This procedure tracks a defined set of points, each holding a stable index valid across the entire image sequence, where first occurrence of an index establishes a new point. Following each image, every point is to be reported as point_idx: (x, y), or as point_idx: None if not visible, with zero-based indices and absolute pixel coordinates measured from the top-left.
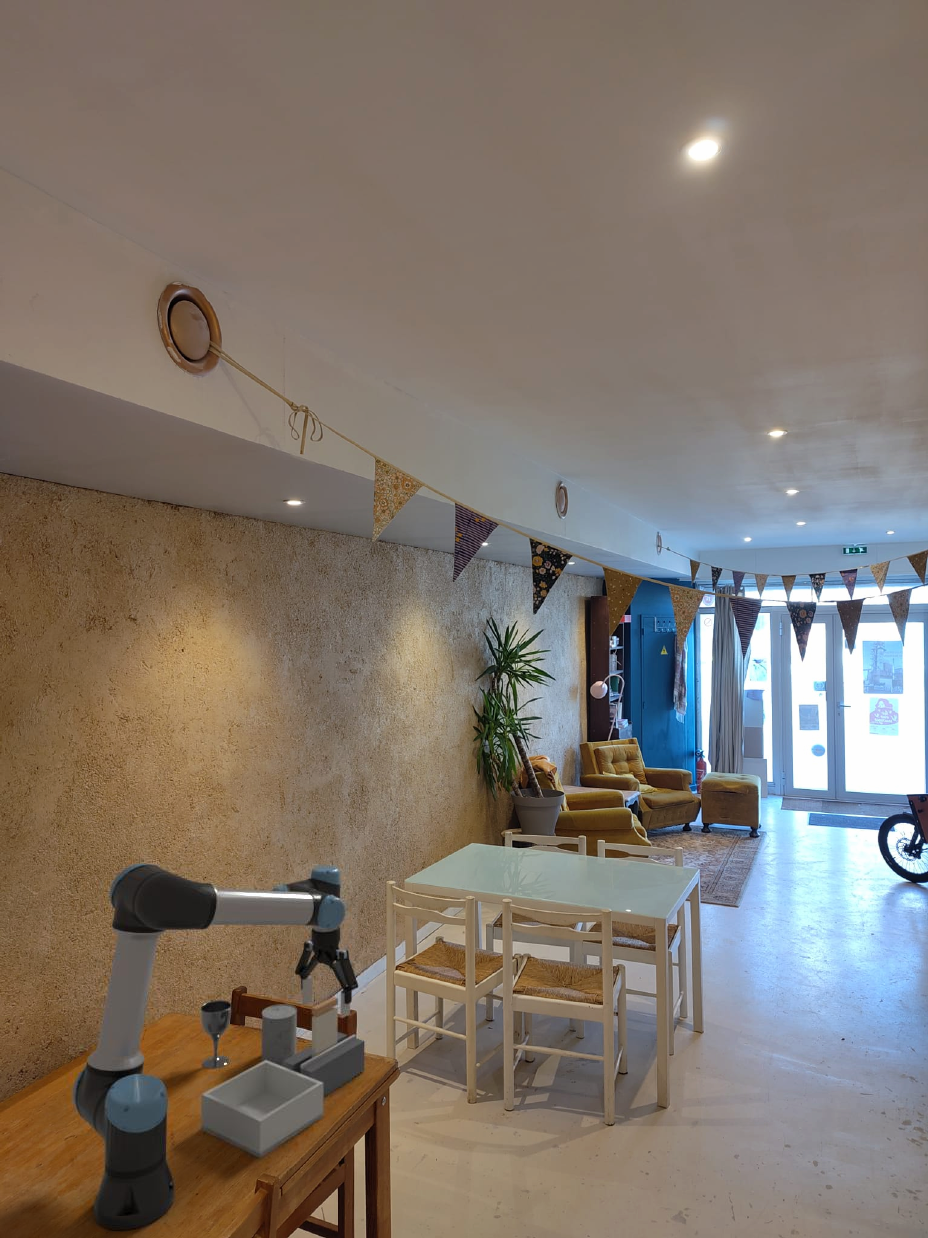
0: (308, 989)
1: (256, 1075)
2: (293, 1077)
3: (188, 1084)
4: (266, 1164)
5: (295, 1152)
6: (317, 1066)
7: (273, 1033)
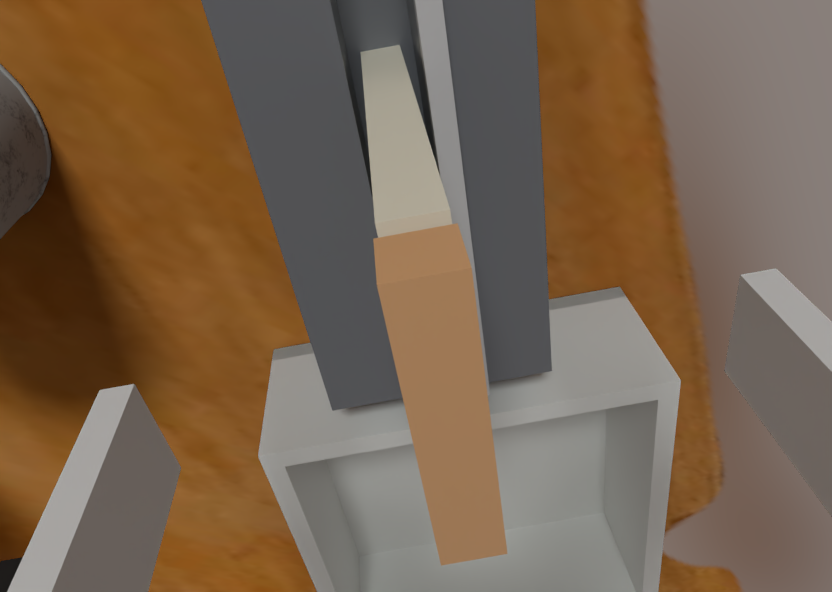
0: (103, 575)
1: (302, 476)
2: None
3: (16, 502)
4: None
5: (682, 438)
6: (532, 323)
7: None
